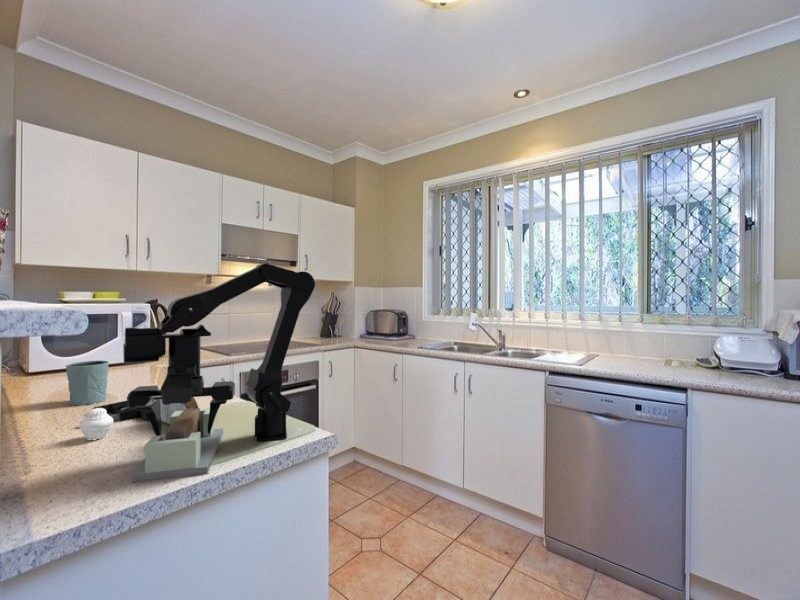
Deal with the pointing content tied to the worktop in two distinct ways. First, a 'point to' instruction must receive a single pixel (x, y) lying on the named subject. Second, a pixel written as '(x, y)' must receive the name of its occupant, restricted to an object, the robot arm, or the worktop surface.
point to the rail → (185, 424)
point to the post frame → (179, 453)
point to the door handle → (123, 411)
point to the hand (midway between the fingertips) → (184, 435)
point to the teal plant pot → (87, 382)
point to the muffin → (96, 424)
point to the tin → (174, 409)
